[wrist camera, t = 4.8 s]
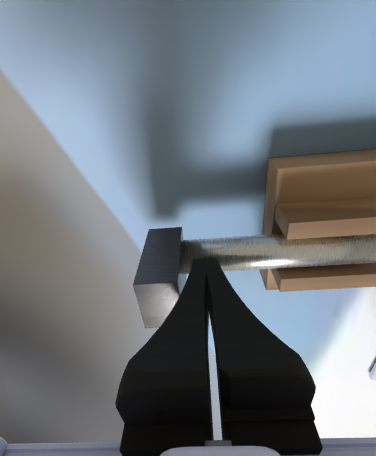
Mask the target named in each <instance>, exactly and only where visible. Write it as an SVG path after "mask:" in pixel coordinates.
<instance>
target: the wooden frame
mask: <svg viewBox="0 0 376 456" xmlns="http://www.w3.org/2000/svg"><path fill="white" fill-rule="evenodd" d="M268 234H284V236H285V237H286V239H287V240H291V239H306V238H321V237H336V236H351V235H366V234H376V149H370V150H359V151H348V152H336V153H325V154H313V155H302V156H291V157H279V158H268V170H267V183H266V196H265V209H264V222H263V235H268ZM260 274H261V276H262V279H263V282H264V285H265V288H266V290H275V289H279V291H280V292H283V291H302V290H320V289H339V288H357V287H376V263H359V264H342V265H326V266H309V267H292V268H276V269H260Z"/></svg>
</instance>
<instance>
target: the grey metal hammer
mask: <svg viewBox="0 0 376 456" xmlns="http://www.w3.org/2000/svg"><path fill="white" fill-rule="evenodd" d="M204 258H217V259H218V261H219V264H220V266H221V268H222V270H223V272H226V271H242V270H259V269H276V268H292V267H309V266H326V265H342V264H359V263H376V234H366V235H351V236H336V237H321V238H306V239H291V240H287V239H286V237H285V236H284V234H268V235H254V236H239V237H224V238H210V239H195V240H183V233H182V227H175V228H161V229H149V231H148V235H147V238H146V242H145V245H144V249H143V252H142V256H141V259H140V263H139V266H138V270H137V274H136V276H135V280H134V284H133V287H134V290H135V293H136V297H137V301H138V304H139V308H140V311H141V315H142V318H143V322H144V325H145V328H159V327H160V326H161V325H162V323H163V322H164V320H165V319H166V318H167V316H168V315H169V313H170V312H171V310H172V308H173V307H174V305H175V303H176V302H177V300H178V298H179V296H180V294H181V292H182V290H183V288H184V286H185V283H186V274H189V273H190V270H191V266H192V261H193V260H194V259H204Z"/></svg>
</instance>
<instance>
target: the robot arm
mask: <svg viewBox="0 0 376 456" xmlns="http://www.w3.org/2000/svg"><path fill="white" fill-rule="evenodd" d="M209 314H210V320H211V326H212V332H213V338H214V344H215V353H216V363H217V376H218V389H219V402H220V415H221V428H222V440H214V439H213V423H212V407H211V391H210V374H209V358H208V324H209ZM369 376H370V378H371V379H372V380H376V363H375V365H374V367H373V369H372V370H371V372H370V374H369ZM315 389H316V386H315V384H314V381H313V379H312V376H311V374H310V372H309V371H308V369H307V367H306V365H305V363H304V362H303V360H302V358H301V357H300V355H299V354H298V353H296V352H295V351H294V350H292V349H291V348H290V347H288V346H287V345H286V344H285V343H283V342H282V341H281V340H280V339H279V338H278V337H276V336H275V335H274V334H273V333H272V332H271V331H270V330H269V329H268V328H267V327H266V326H265V325H264V324H262V323H261V322H260V321H259V320H258V319H257V318H256V316H255V315H254V314H253V313H252V312H251V311H250V310H249V309H248V307H247V306H246V305H245V304H244V303H243V301H242V300H241V299H240V297H239V296H238V295H237V293H236V292H235V290H234V289H233V288H232V286H231V284H230V283H229V281H228V280H227V278H226V276H225V274H224V272H223V270H222V268H221V266H220V264H219V261H218V259H217V258H204V259H194V260H193V261H192V266H191V270H190V273H189V276H188V278H187V281H186V283H185V286H184V288H183V290H182V292H181V294H180V296H179V298H178V300H177V302H176V303H175V305H174V307H173V308H172V310H171V312H170V313H169V315H168V316H167V318H166V319H165V320H164V322H163V323H162V325H161V326H160V327H159V329H158V330H157V331H156V332H155V333H154V335H153V336H152V337H151V338H150V339H149V341H148V342H147V343H146V344H145V345H144V346H143V347H142V348H141V349H140V350H139V351H138V352H137V353H136V354H135V355H134V356H133V357H132V358H131V359H130V360H129V362H128V364H127V366H126V369H125V371H124V374H123V376H122V379H121V382H120V385H119V390H118V394H117V399H116V408H117V410H118V412H119V414H120V416H121V417H122V419H123V421H124V423H125V424H124V430H123V435H122V440H121V442H102V443H101V442H99V443H44V444H43V443H41V444H7V442H6V441H5V440H4V439H3V438H1V437H0V456H376V438H323V439H320V438H319V435H318V432H317V429H316V426H315V424H314V420H315V417H314V413H313V411H312V408H311V403H312V400H313V397H314V394H315Z"/></svg>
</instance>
